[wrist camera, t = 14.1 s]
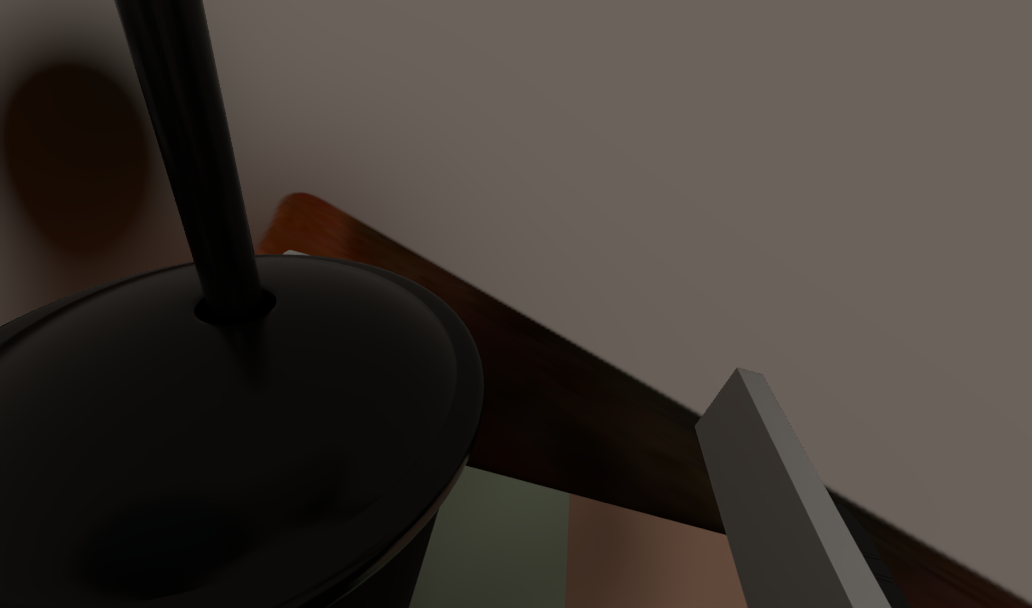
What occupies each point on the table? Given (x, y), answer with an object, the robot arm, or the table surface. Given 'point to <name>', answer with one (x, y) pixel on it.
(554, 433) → the table surface
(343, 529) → the drinking cup
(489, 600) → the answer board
